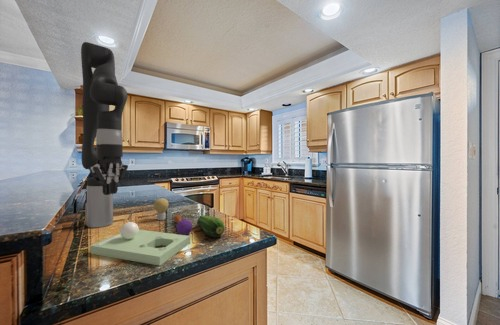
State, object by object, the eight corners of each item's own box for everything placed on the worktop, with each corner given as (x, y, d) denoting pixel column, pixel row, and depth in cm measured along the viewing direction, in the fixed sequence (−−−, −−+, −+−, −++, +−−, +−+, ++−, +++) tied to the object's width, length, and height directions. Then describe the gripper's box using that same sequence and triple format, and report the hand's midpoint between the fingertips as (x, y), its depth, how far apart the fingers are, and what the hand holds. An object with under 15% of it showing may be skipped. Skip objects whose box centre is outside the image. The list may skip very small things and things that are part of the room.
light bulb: (171, 218, 104) (171, 197, 103) (160, 222, 98) (160, 200, 97) (161, 216, 106) (161, 196, 106) (150, 220, 100) (150, 199, 100)
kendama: (185, 212, 101) (195, 221, 83) (183, 225, 100) (192, 237, 82) (172, 211, 98) (179, 220, 80) (169, 225, 97) (176, 236, 80)
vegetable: (214, 217, 78) (197, 206, 95) (205, 237, 76) (189, 222, 93) (230, 224, 81) (211, 212, 98) (222, 242, 80) (204, 227, 97)
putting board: (90, 253, 67) (90, 244, 67) (131, 235, 82) (131, 228, 82) (159, 265, 60) (159, 256, 60) (190, 243, 76) (190, 235, 76)
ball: (116, 240, 71) (115, 224, 70) (129, 234, 76) (129, 219, 76) (129, 242, 69) (129, 225, 69) (142, 236, 74) (142, 220, 74)
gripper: (118, 144, 81) (118, 190, 82) (80, 142, 68) (81, 197, 68) (134, 144, 79) (134, 191, 80) (99, 142, 66) (100, 198, 66)
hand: (110, 193), depth 74 cm, fingers closed
